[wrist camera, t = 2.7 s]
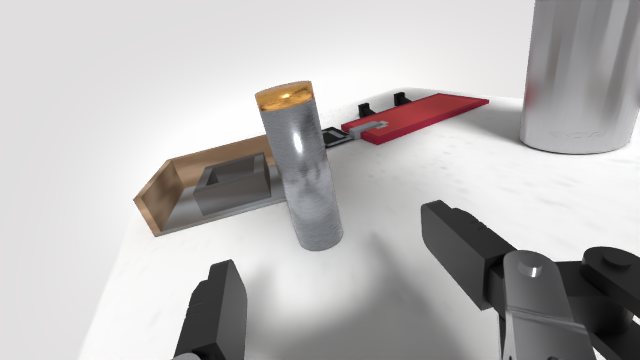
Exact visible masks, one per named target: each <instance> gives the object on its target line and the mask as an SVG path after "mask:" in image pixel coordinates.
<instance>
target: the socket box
mask: <svg viewBox="0 0 640 360" xmlns="http://www.w3.org/2000/svg"><path fill="white" fill-rule="evenodd" d="M286 200H287V199H286V196H285V193H284V190H283V186H282V183H281V180H280V177H279V173H278V170H277V167H276V163H275V160H274V157H273V154H272V150H271V147H270V144H269V141H268V137H267V134H265V135H261V136H258V137H254V138H250V139H246V140H242V141H238V142H234V143H231V144H227V145H223V146H219V147H215V148H211V149H207V150H204V151H200V152H196V153H192V154H188V155H184V156H180V157H177V158H173V159H169V160H167V161H166V162H165V163H164V164H163V165H162V167H161V168H160V169H159V170H158V171H157V172H156V174H155V175H154V176H153V177H152V178H151V179H150V181H149V182H148V183H147V184H146V185H145V186H144V188H143V189H142V190H141V191H140V192H139V193H138V195H137V196H136V197H135V198H134V199H133V201H134V202H135V204H136V206H137V207H138V209H139V211H140V212H141V214H142V216H143V217H144V219H145V221H146V222H147V224H148V226H149V228H150V229H151V231H152V233H153V234H154V236H155V237H157V236H161V235H165V234H168V233H172V232H175V231H179V230H182V229H186V228H190V227H193V226H197V225H200V224H204V223H207V222H211V221H215V220H218V219H222V218H225V217H229V216H232V215H236V214H240V213H243V212H247V211H250V210H254V209H257V208H261V207H265V206H268V205H272V204H275V203H279V202H282V201H286Z"/></svg>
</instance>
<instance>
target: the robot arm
mask: <svg viewBox="0 0 640 360" xmlns="http://www.w3.org/2000/svg"><path fill="white" fill-rule="evenodd" d="M639 109H640V0H535V7H534V16H533V25H532V33H531V42H530V51H529V59H528V67H527V77H526V85H525V93H524V102H523V109H522V118H521V127H520V136H519V138H520V140H521V141H522V142H523V143H525V144H527V145H529V146H531V147H534V148H537V149H541V150H545V151H551V152H558V153H571V154H588V153H600V152H607V151H612V150H616V149H619V148H621V147H624V146H626V145H627V144H628V143H629V142H630V138H631V135H632V132H633V129H634V125H635V122H636V119H637V116H638V112H639ZM421 224H422V237H423V240H424V243H425V245H426V247H427V248H428V249H429V250H430V252H431V253H432V254H433V255H434V256H435V258H436V259H437V260H438V261H439V262H440V263H441V265H442V266H443V267H444V268H445V269H446V270H447V272H448V273H449V274H450V275H451V276H452V277H453V279H454V280H455V281H456V282H457V283H458V284H459V286H460V287H461V288H462V289H463V290H464V291H465V293H466V294H467V295H468V296H469V297H470V298H471V300H472V301H473V302H474V303H475V304H476V305H477V307H478V308H479V309H480V310H481V311H482V310H485V309H488V308H491V307H493V308H494V309H495V310H496V311H497V312H498V315H497V324H498V342H499V360H596V356H595V353H594V350H593V347H594V348H595V349H596V350H597V351H598V352H599V353H600V354H601V355H602V356H603V357H604V358H605V359H606V360H640V325H638V324H637V323H636V322H635V321H633V320H632V319H633V316H634V315H636V316H637V317H638V318H640V257H638V256H636V255H634V254H632V253H629V252H627V251H624V250H621V249H617V248H612V247H601V246H600V247H592V248H589V249H587V250H586V251H585V252H584V255H583V259H582V261H565V262H553V261H552V260H551V259H549V258H548V257H546V256H544V255H542V254H539V253H537V252H533V251H527V250H517V249H516V248H514V247H513V246H512V245H510V244H509V243H508V242H507V241H505V240H504V239H503V238H501V237H500V236H499V235H497V234H496V233H495V232H493V231H492V230H491V229H489V228H487V227H486V225H484V224H483V223H482V222H479V221H478V219H476V218H475V217H474V216H472V215H471V214H470V213H468V212H466V211H463V210H461V209H458V208H453V209H451V208H450V207H449V206H448V205H447V204H445V203H444V202H443V201H441V200H437V201H433V202H430V203H426V204H423V205H422V206H421ZM246 317H247V294H246V290H245V287H244V284H243V282H242V280H241V278H240V275H239V273H238V271H237V269H236V266H235V264H234V262H233V261H232V260H231V259H230V260H226V261H223V262H220V263H216V264H213V265H211V267H210V271H209V276H208V280H204V281H201V282H200V283H199V284H198V286H197V287H196V289H195V290H194V291H193V293H192V295H191V299H190V302H189V308H188V309H187V313H186V318H185V319H184V323H183V326H182V330H181V333H180V337H179V340H178V344H177V347H176V350H175V354H174V357H173V359H172V360H244V351H245V334H246ZM592 346H593V347H592Z"/></svg>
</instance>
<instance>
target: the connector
mask: <svg viewBox="0 0 640 360" xmlns="http://www.w3.org/2000/svg"><path fill="white" fill-rule="evenodd" d="M255 98H256V101H257V105H258V108H259V111H260V114H261V118H262V121H263V124H264V127H265V131H266V134H267V137H268V141H269V144H270V147H271V150H272V154H273V157H274V160H275V163H276V167H277V170H278V173H279V177H280V180H281V183H282V186H283V190H284V193H285V196H286V199H287V203H288V206H289V209H290V213H291V216H292V219H293V222H294V226H295V229H296V232H297V235H298V239H299V242H300V245H301V246H302V247H303V248H305V249H307V250H310V251H322V250H326V249H329V248H331V247H333V246H335V245H336V244H337V243H338V242H339V241H340V240H341V239H342V236H343V229H342V225H341V220H340V215H339V210H338V206H337V201H336V196H335V192H334V187H333V182H332V178H331V173H330V168H329V163H328V159H327V154H326V149H325V145H324V140H323V135H322V131H321V126H320V121H319V116H318V112H317V107H316V102H315V98H314V93H313V89H312V84H311V81H299V82H293V83H288V84H283V85H279V86H275V87H272V88H269V89H266V90H263V91H260V92H258V93H256V94H255Z"/></svg>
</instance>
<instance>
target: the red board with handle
mask: <svg viewBox="0 0 640 360" xmlns="http://www.w3.org/2000/svg"><path fill="white" fill-rule="evenodd" d="M394 103H395V106H397V107H394V108H391V109H388V110H385V111H382V112H379V113H375V112H373V111H372V110H371V109H370V107H369V103H364V104H361V105H358V107H359V115H360V119H357V120H354V121H351V122H348V123H345V124H342V125H341V128H342V130H343V131H346V132H348V133H350V135H349V134H347V133H345V132H343V131H340V130H338V129H336V128H334V127H330V128H327V129H324V130H321V131H322V135H323V140H324V145H325V148H326V147H329V146H332V145H334V144H337V143H340V142H343V141H346V140H349V139H354V140H358V139H364V140H366V141H369V142H371V143H373V144H376V145H380V144H382V143H385V142H387V141H390V140H393V139H395V138H398V137H401V136H403V135H406V134H409V133H411V132H414V131H416V130H419V129H422V128H424V127H427V126H430V125H432V124H435V123H437V122H440V121H443V120H445V119H448V118H451V117H453V116H456V115H459V114H461V113H464V112H466V111H469V110H472V109H474V108H477V107H480V106H482V105H485V104H488V103H489V100H487V99H480V98H472V97H464V96H456V95H448V94H441V93H437V94H434V95H431V96H428V97H425V98H422V99H419V100H416V101H413V102H412V101H410V100H409V99H407V98H405V93H404V92H400V93H396V94H394ZM400 105H401V106H400Z"/></svg>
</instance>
